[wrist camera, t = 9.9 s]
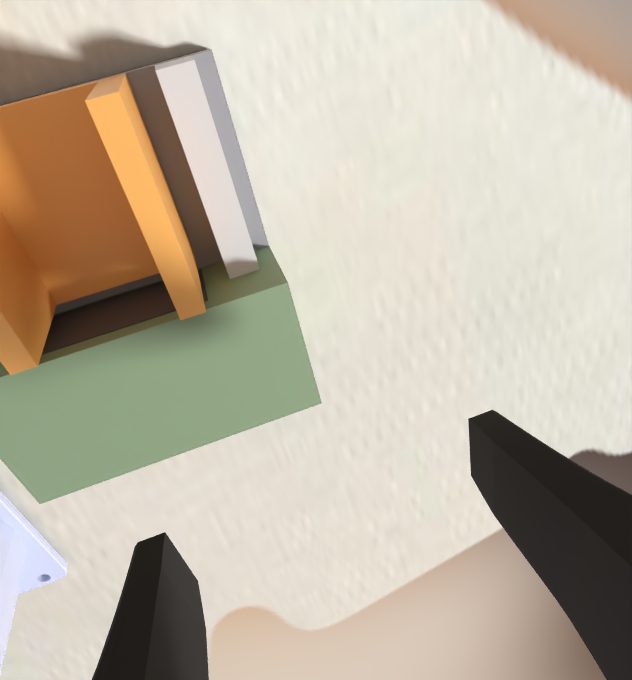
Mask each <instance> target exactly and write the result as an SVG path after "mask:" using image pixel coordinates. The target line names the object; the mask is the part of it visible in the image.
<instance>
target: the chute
mask: <svg viewBox="0 0 632 680" xmlns="http://www.w3.org/2000/svg"><path fill="white" fill-rule="evenodd" d="M158 273H160V274H161V277H162V279H163V281H164V283H165V286H166V288H167V290H168V293H169V295H170V297H171V299H172V302H173V304H174V306H175V309H176V311H177V313H178V316H179V318H180V320H183V319H187V318H190V317H193V316H196V315H199V314H202V313H205V312H206V310H205V305H204V299H203V294H202V289H201V284H200V279H199V274H198V268H197V263H196V258H195V254H194V251H193V248H192V246H191V243H190V241H189V238H188V235H187V233H186V230H185V227H184V225H183V222H182V220H181V217H180V214H179V212H178V209H177V206H176V204H175V201H174V199H173V196H172V193H171V191H170V188H169V185H168V183H167V180H166V178H165V175H164V172H163V170H162V167H161V164H160V162H159V159H158V157H157V154H156V151H155V149H154V146H153V143H152V141H151V138H150V136H149V133H148V130H147V128H146V125H145V123H144V120H143V117H142V115H141V112H140V109H139V107H138V104H137V102H136V99H135V96H134V94H133V91H132V88H131V86H130V83H129V81H128V78H127V75H126V73H123V74H119V75H115V76H111V77H108V78H104V79H100V80H96V81H93V82H89V83H85V84H81V85H77V86H74V87H70V88H66V89H62V90H59V91H55V92H51V93H47V94H43V95H40V96H36V97H32V98H28V99H25V100H21V101H17V102H13V103H9V104H6V105H2V106H0V362H1V363H2V364H3V366H4V367H5V368H6V370H7V371H8V372H9V374H10V375H13V374H16V373H19V372H22V371H25V370H28V369H31V368H34V367H38V364H39V361H40V358H41V355H42V351H43V348H44V345H45V342H46V338H47V335H48V332H49V329H50V326H51V322H52V319H53V316H54V313H55V309H56V306H57V305H58V304H61V303H65V302H68V301H71V300H74V299H78V298H81V297H84V296H87V295H90V294H94V293H97V292H100V291H103V290H107V289H110V288H113V287H116V286H119V285H123V284H126V283H129V282H132V281H136V280H139V279H142V278H145V277H148V276H152V275H155V274H158Z"/></svg>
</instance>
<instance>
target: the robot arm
mask: <svg viewBox="0 0 632 680" xmlns="http://www.w3.org/2000/svg"><path fill="white" fill-rule="evenodd" d="M469 440H470V462H471V476H472V478H473V480H474V481H475V483H476V485H477V487H478V488H479V490H480V492H481V494H482V495H483V497H484V499H485V501H486V502H487V504H488V506H489V507H490V509H491V511H492V512H493V514H494V516H495V517H496V518H497V520H498V521H499V523H500V524H501V525H502V527H503V528H504V529H505V531H506V532H507V533H508V535H509V536H510V538H511V539H512V540H513V542H514V543H515V544H516V546H517V547H518V548H519V550H520V551H521V552H522V554H523V555H524V557H525V558H526V559H527V561H528V562H529V563H530V565H531V566H532V567H533V568H534V570H535V571H536V573H537V574H538V575H539V577H540V578H541V579H542V581H543V582H544V583H545V585H546V586H547V587H548V589H549V590H550V592H551V593H552V594H553V596H554V597H555V598H556V600H557V601H558V603H559V604H560V606H561V607H562V608H563V610H564V611H565V613H566V614H567V616H568V617H569V619H570V620H571V622H572V623H573V625H574V627H575V628H576V630H577V631H578V633H579V635H580V637H581V638H582V640H583V641H584V643H585V645H586V646H587V648H588V649H589V651H590V653H591V654H592V656H593V658H594V659H595V661H596V662H597V664H598V666H599V668H600V669H601V671H602V672H603V674H604V676H605V678H606V679H607V680H632V495H631V494H629V493H627V492H625V491H624V490H622V489H620V488H618V487H616V486H615V485H612V484H611V483H609V482H607V481H605V480H604V479H602V478H600V477H599V476H597V475H595V474H593V473H592V472H590V471H588V470H587V469H585V468H583V467H582V466H580V465H578V464H577V463H575V462H573V461H572V460H570V459H568V458H567V457H565V456H563V455H562V454H560V453H558V452H557V451H555V450H554V449H552V448H550V447H549V446H547V445H546V444H544V443H543V442H541V441H540V440H538V439H537V438H535V437H533V436H532V435H530V434H529V433H527V432H526V431H524V430H523V429H521V428H520V427H518V426H517V425H515V424H514V423H512V422H511V421H509V420H508V419H506V418H505V417H503V416H502V415H500V414H499V413H497V412H496V411H494V410H491V411H488V412H485V413H483V414H480V415H477V416H475V417H472V418H469ZM67 570H68V564H67V563H66V562H65V560H64V559H63V558H62V557H61V556H60V555H59V554H58V553H57V552H56V551H55V550H54V549H53V548H52V546H51V545H50V544H49V543H48V542H47V541H46V540H45V539H44V538H43V537H42V536H41V535H40V534H39V532H38V531H37V530H36V529H35V528H34V527H33V526H32V525H31V524H30V523H29V522H28V521H27V520H26V518H25V517H24V516H23V515H22V514H21V513H20V512H19V511H18V510H17V509H16V508H15V507H14V506H13V504H12V503H11V502H10V501H9V500H8V499H7V498H6V497H5V496H4V495H3V494H2V493H1V492H0V675H1V670H2V666H3V661H4V657H5V652H6V648H7V643H8V639H9V634H10V630H11V625H12V621H13V616H14V612H15V607H16V603H17V598H18V595H19V594H22V593H24V592H27V591H30V590H32V589H35V588H38V587H40V586H43V585H46V584H48V583H51V582H54V581H56V580H59V579H61V578H63V577H65V576H66V574H67ZM92 680H209V677H208V658H207V641H206V627H205V621H204V614H203V608H202V602H201V596H200V590H199V585H198V580H197V579H196V577H195V576H194V575H193V573H192V572H191V570H190V569H189V567H188V566H187V564H186V563H185V561H184V560H183V558H182V557H181V555H180V554H179V552H178V551H177V549H176V548H175V546H174V545H173V543H172V542H171V540H170V539H169V537H168V536H167V534H166V533H165V532H164V533H162V534H159V535H156V536H154V537H151V538H148V539H146V540H143V541H140V542H138V543H137V545H136V546H135V548H134V552H133V556H132V559H131V563H130V566H129V570H128V573H127V577H126V580H125V583H124V587H123V590H122V593H121V597H120V600H119V603H118V606H117V609H116V613H115V616H114V619H113V622H112V625H111V628H110V630H109V633H108V636H107V639H106V642H105V645H104V648H103V651H102V654H101V657H100V660H99V662H98V665H97V668H96V670H95V673H94V676H93V678H92Z"/></svg>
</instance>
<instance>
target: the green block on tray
mask: <svg viewBox="0 0 632 680" xmlns="http://www.w3.org/2000/svg"><path fill="white" fill-rule="evenodd" d="M123 73H126V75H127V78H128V81H129V83H130V86H131V88H132V91H133V94H134V96H135V99H136V102H137V104H138V107H139V109H140V112H141V115H142V117H143V120H144V123H145V125H146V128H147V130H148V133H149V136H150V138H151V141H152V143H153V146H154V149H155V151H156V154H157V157H158V159H159V162H160V164H161V167H162V170H163V172H164V175H165V178H166V180H167V183H168V185H169V188H170V191H171V193H172V196H173V199H174V201H175V204H176V206H177V209H178V212H179V214H180V217H181V220H182V222H183V225H184V227H185V230H186V233H187V235H188V238H189V241H190V243H191V246H192V248H193V251H194V254H195V258H196V263H197V268H198V274H199V279H200V284H201V289H202V294H203V299H204V305H205V310H206V312H205V313H202V314H199V315H196V316H193V317H190V318H187V319H183V320H180V318H179V316H178V313H177V311H176V309H175V306H174V304H173V302H172V299H171V297H170V295H169V293H168V290H167V288H166V286H165V283H164V281H163V279H162V277H161V274H160V273H158V274H155V275H152V276H148V277H145V278H142V279H139V280H136V281H132V282H129V283H126V284H123V285H119V286H116V287H113V288H110V289H107V290H103V291H100V292H97V293H94V294H90V295H87V296H84V297H81V298H78V299H74V300H71V301H68V302H65V303H61V304H58V305H57V306H56V309H55V313H54V316H53V319H52V322H51V326H50V329H49V332H48V335H47V338H46V342H45V345H44V348H43V351H42V355H41V358H40V361H39V364H38V367H34V368H31V369H28V370H25V371H22V372H19V373H16V374H13V375H10V374H9V372H8V371H7V370H6V368H5V367H4V366H3V364H2V363H1V362H0V459H1V460H2V461H3V462H4V464H5V465H6V466H7V467H8V468H9V469H10V470H11V472H12V473H13V474H14V475H15V476H16V477H17V478H18V480H19V481H20V482H21V483H22V484H23V485H24V486H25V488H26V489H27V490H28V491H29V492H30V493H31V494H32V496H33V497H34V498H35V499H36V500H37V501H38V502H39V504H42V503H44V502H47V501H50V500H53V499H56V498H58V497H61V496H64V495H67V494H70V493H72V492H75V491H78V490H81V489H83V488H86V487H89V486H92V485H95V484H97V483H100V482H103V481H106V480H109V479H111V478H114V477H117V476H120V475H123V474H125V473H128V472H131V471H134V470H137V469H139V468H142V467H145V466H148V465H150V464H153V463H156V462H159V461H162V460H164V459H167V458H170V457H173V456H176V455H178V454H181V453H184V452H187V451H190V450H192V449H195V448H198V447H201V446H203V445H206V444H209V443H212V442H215V441H217V440H220V439H223V438H226V437H229V436H231V435H234V434H237V433H240V432H243V431H245V430H248V429H251V428H254V427H256V426H259V425H262V424H265V423H268V422H270V421H273V420H276V419H279V418H282V417H284V416H287V415H290V414H293V413H296V412H298V411H301V410H304V409H307V408H309V407H312V406H315V405H318V404H321V403H322V402H321V399H320V395H319V392H318V388H317V385H316V381H315V378H314V374H313V370H312V367H311V363H310V360H309V356H308V353H307V349H306V346H305V342H304V338H303V335H302V331H301V328H300V324H299V321H298V317H297V314H296V310H295V306H294V303H293V299H292V296H291V292H290V289H289V285H288V282H287V280H286V278H285V276H284V274H283V272H282V270H281V268H280V267H279V265H278V263H277V261H276V259H275V257H274V255H273V253H272V251H271V249H270V247H269V245H268V241H267V238H266V235H265V231H264V228H263V224H262V221H261V217H260V214H259V211H258V207H257V204H256V200H255V197H254V194H253V190H252V187H251V183H250V180H249V176H248V173H247V170H246V166H245V163H244V159H243V156H242V152H241V149H240V146H239V142H238V139H237V135H236V132H235V129H234V125H233V122H232V118H231V115H230V111H229V108H228V105H227V101H226V98H225V94H224V91H223V87H222V84H221V81H220V77H219V74H218V70H217V67H216V64H215V60H214V57H213V53H212V50H211V49H206V50H202V51H199V52H195V53H191V54H188V55H184V56H180V57H177V58H173V59H169V60H166V61H162V62H159V63H155V64H151V65H148V66H144V67H140V68H137V69H133V70H129V71H126V72H122V73H119V74H123ZM119 74H115V75H119ZM115 75H111V76H115ZM111 76H108V77H111ZM108 77H104V78H108ZM104 78H100V79H104ZM100 79H97V80H100ZM93 81H96V80H93ZM93 81H89V82H93ZM89 82H86V83H89ZM82 84H85V83H82ZM78 85H81V84H78ZM75 86H77V85H75ZM71 87H74V86H71ZM68 88H70V87H68ZM64 89H66V88H64ZM60 90H62V89H60ZM57 91H59V90H57ZM53 92H55V91H53ZM49 93H51V92H49ZM46 94H47V93H46ZM42 95H43V94H42ZM38 96H40V95H38ZM35 97H36V96H35ZM31 98H32V97H31ZM24 100H25V99H24ZM20 101H21V100H20Z"/></svg>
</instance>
